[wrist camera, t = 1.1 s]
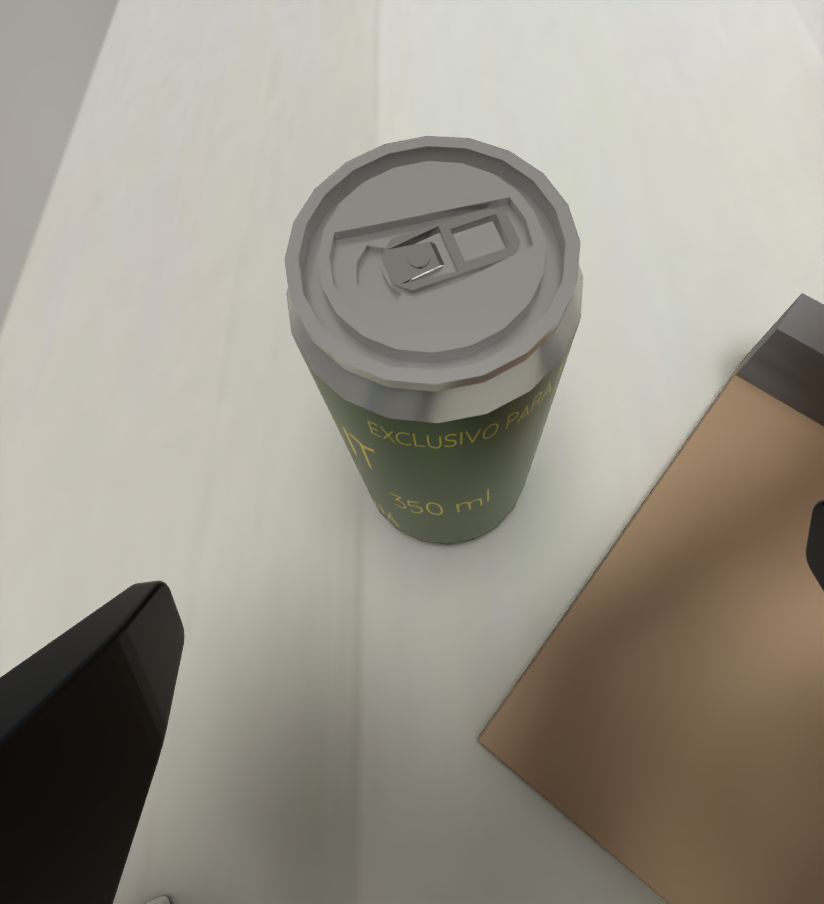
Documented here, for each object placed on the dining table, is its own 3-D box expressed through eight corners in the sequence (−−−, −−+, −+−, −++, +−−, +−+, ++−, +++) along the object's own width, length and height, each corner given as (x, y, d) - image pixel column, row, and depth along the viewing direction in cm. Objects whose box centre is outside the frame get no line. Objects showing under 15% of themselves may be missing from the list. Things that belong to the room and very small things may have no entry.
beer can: (489, 379, 23) (519, 90, 12) (549, 516, 21) (653, 331, 10) (348, 428, 23) (238, 181, 11) (396, 571, 21) (321, 446, 10)
